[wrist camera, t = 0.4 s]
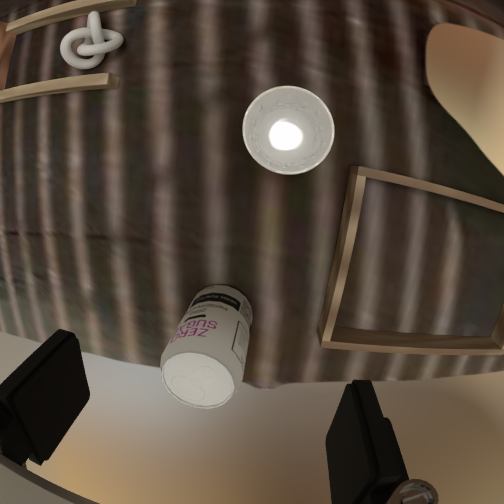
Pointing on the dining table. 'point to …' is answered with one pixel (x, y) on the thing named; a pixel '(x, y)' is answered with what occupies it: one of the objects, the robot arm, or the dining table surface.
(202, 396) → the supplement can
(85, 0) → the guide channel
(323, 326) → the serving tray rim
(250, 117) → the white cup
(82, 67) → the knot
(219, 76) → the dining table surface
